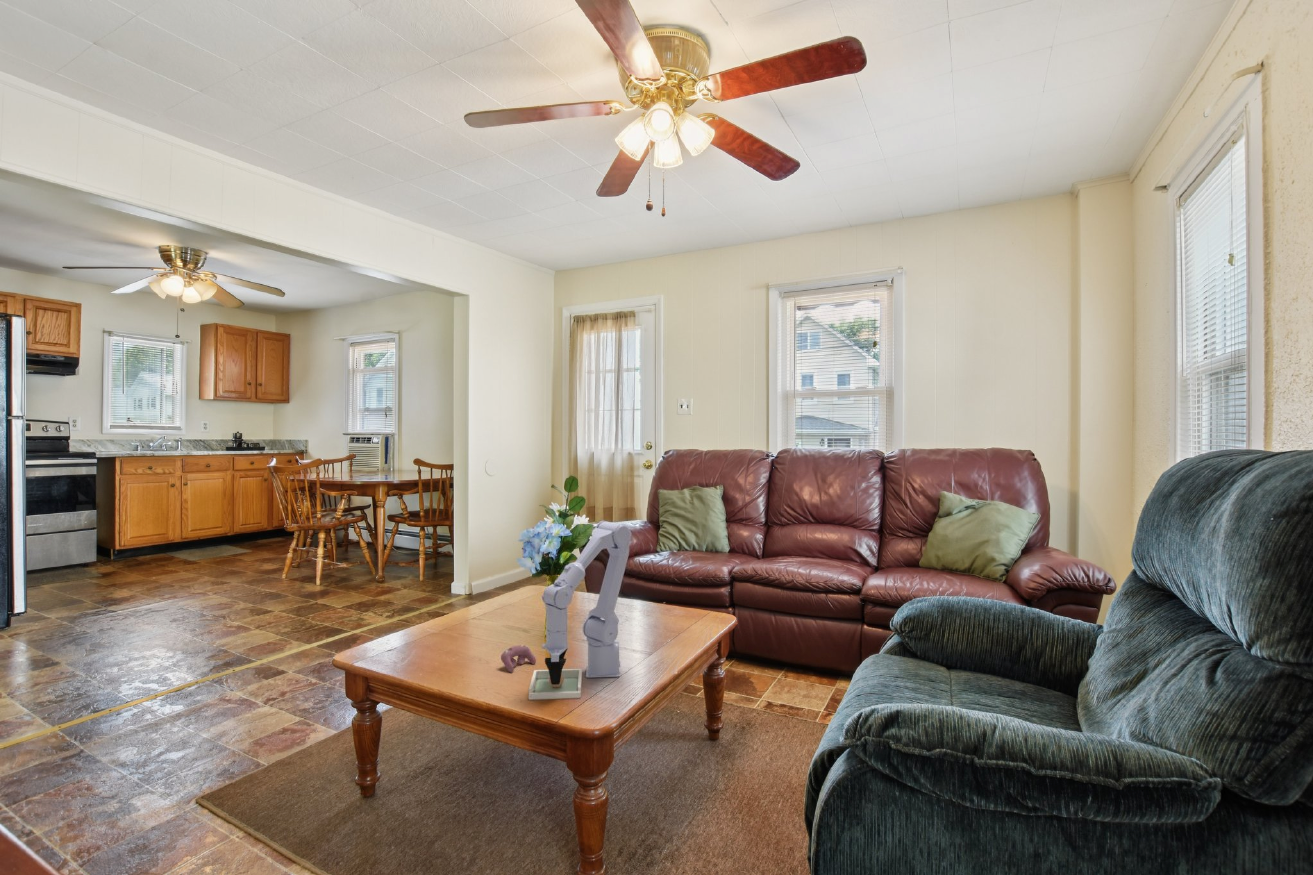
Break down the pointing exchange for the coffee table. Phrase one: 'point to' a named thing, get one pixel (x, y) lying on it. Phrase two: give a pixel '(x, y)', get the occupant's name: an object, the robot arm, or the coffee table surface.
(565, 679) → the mat
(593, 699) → the coffee table surface
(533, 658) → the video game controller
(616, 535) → the robot arm
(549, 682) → the ball
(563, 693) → the tray
